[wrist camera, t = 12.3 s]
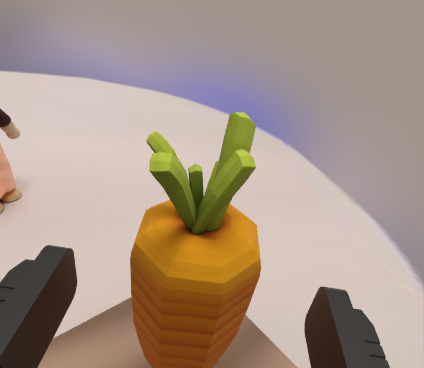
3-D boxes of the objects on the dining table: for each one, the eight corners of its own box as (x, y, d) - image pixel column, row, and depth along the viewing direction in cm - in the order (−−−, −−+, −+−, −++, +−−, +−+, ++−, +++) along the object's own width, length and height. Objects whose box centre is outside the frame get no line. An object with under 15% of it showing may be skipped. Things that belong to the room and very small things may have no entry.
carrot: (137, 451, 15) (149, 174, 7) (122, 349, 19) (119, 91, 11) (236, 415, 17) (338, 161, 9) (204, 328, 21) (255, 94, 12)
